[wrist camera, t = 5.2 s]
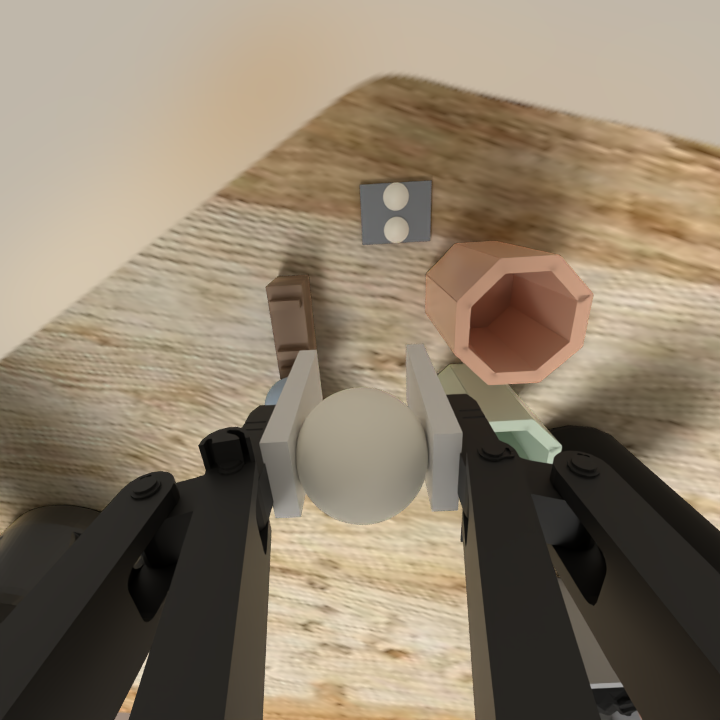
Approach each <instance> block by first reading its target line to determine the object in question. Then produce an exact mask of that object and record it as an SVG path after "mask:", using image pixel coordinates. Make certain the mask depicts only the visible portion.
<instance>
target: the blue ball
mask: <svg viewBox="0 0 720 720" xmlns="http://www.w3.org/2000/svg"><path fill="white" fill-rule="evenodd" d="M287 378H288V377H287ZM287 378H284V379H281V380H280V381H278V382H277V383H275V384H274V385H273V386H272V387H271V389H270V390H269V392H268V394H267V397H266V400H265V405H276V404H277V401H278V399H279V397H280V394H281V392H282V390H283V387H284V385H285V383H286V381H287Z"/></svg>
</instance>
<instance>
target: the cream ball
mask: <svg viewBox="0 0 720 720" xmlns="http://www.w3.org/2000/svg"><path fill="white" fill-rule="evenodd" d="M296 465H297V472H298V476H299V480H300V482H301V484H302V487H303V489H304V491H305V492H306V494H307V495H308V497H309V498H310V499H311V500H312V502H313V503H314V504H315V505H316V506H317V507H318V508H319V509H320V510H322V511H323V512H324V513H326V514H327V515H329V516H330V517H332V518H334V519H336V520H339V521H342V522H345V523H350V524H357V525H367V524H375V523H379V522H382V521H385V520H388V519H390V518H392V517H394V516H395V515H397V514H398V513H400V512H401V511H403V510H404V509H405V508H406V507H407V506H408V505H409V504H410V503H411V502H412V501H413V499H414V498H415V497H416V495H417V494H418V492H419V491H420V489H421V487H422V484H423V482H424V480H425V476H426V472H427V468H428V445H427V440H426V436H425V433H424V431H423V428H422V426H421V423H420V422H419V420H418V418H417V417H416V415H415V414H414V413H413V411H412V410H411V409H410V408H409V407H408V406H407V405H406V404H405V403H404V402H402V401H401V400H400V399H398V398H397V397H395V396H394V395H392V394H390V393H387V392H385V391H382V390H379V389H374V388H368V387H356V388H349V389H345V390H342V391H339V392H336V393H334V394H332V395H330V396H328V397H327V398H325V399H324V400H323V401H321V402H320V403H319V404H318V405H317V406H316V407H315V408H314V409H313V410H312V411H311V412H310V414H309V415H308V417H307V418H306V420H305V421H304V423H303V425H302V428H301V430H300V433H299V435H298V440H297V446H296Z"/></svg>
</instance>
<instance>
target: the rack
mask: <svg viewBox="0 0 720 720" xmlns="http://www.w3.org/2000/svg"><path fill="white" fill-rule="evenodd" d="M266 292H267V298H268V304H269V310H270V317H271V323H272V329H273V335H274V342H275V348H276V354H277V360H278V367H279V373H280V379H284V378H287V377H288V376H289V374H290V371H291V369H292V367H293V364H294V362H295V360H296V358H297V355H298V353H299V351H302V350H317V346H316V337H315V328H314V319H313V310H312V301H311V292H310V283H309V275H296V276H279V277H277V278H275V279H274V280H273V281H272V282H271V283H270V284H269V285H267V286H266ZM317 356H318V355H317Z"/></svg>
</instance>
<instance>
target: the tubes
mask: <svg viewBox="0 0 720 720" xmlns="http://www.w3.org/2000/svg"><path fill="white" fill-rule="evenodd" d="M431 182H432V180H431V181H414V182H398V183H382V184H365V185H360V202H361V222H362V242H363V245H370V244H387V243H404V242H420V241H430V228H431ZM593 295H594V294H593V293H592V291H591V290H590V289H589V288H588V287H587V286H586V284H585V283H584V282H583V281H582V280H581V279H580V277H579V276H578V275H577V274H576V273H575V272H574V270H573V269H572V268H571V267H570V266H569V265H568V263H567V262H566V261H565V260H564V259H563V258H562V256H561V255H558V254H553V253H549V252H544V251H540V250H535V249H531V248H526V247H522V246H517V245H513V244H508V243H504V242H499V241H483V242H466V243H456V244H454V245H453V246H452V247H451V248H450V249H449V250H448V251H447V252H446V253H445V254H444V255H443V256H442V258H441V259H440V260H439V261H438V262H437V263H436V264H435V265H434V266H433V267H432V268H431V269H430V270H429V271H428V272H427V273H426V296H425V312H426V314H427V315H428V317H429V318H430V320H431V321H432V323H433V324H434V326H435V327H436V328H437V330H438V331H439V333H440V334H441V336H442V337H443V339H444V340H445V341H446V343H447V344H448V346H449V347H450V349H451V350H452V352H453V353H454V354H455V355H456V356H457V357H458V358H459V359H460V360H461V361H462V362H463V363H464V364H450V365H448V366H447V367H446V368H445V369H444V370H443V371H442V372H441V373H439V374H438V375H437V376H438V378H439V380H440V383H441V385H442V387H443V389H444V392H445V394H446V395H449V394H467V395H469V396H470V397H472V398H473V399H475V400H476V401H477V403H478V405H479V406H480V408H481V411H483V413H484V415H485V418H487V420H488V422H489V423H490V425H491V427H492V429H493V430H494V432H495V434H496V435H497V437H498V439H499V440H500V441H502V442H505V443H507V444H509V445H510V446H512V447H513V448H514V449H515V450H516V451H517V453H518V455H519V457H521V458H524V459H527V460H532V461H537V462H543V463H549V464H553V459H554V456H555V455H557V454H558V453H559V452H561V449H562V445H561V444H560V443H559V442H558V441H557V439H556V438H555V437H554V436H553V435H552V434H551V433H550V431H549V430H548V429H547V428H546V427H545V426H544V425H543V424H542V422H541V421H540V420H539V419H538V418H537V417H536V416H535V414H534V413H533V412H532V411H531V410H530V409H529V408H528V406H527V405H526V404H525V403H524V402H523V401H522V400H521V399H520V397H519V396H518V395H517V394H516V393H515V392H514V391H513V389H512V388H511V387H510V386H509V385H508V384H521V383H539V382H541V381H542V380H543V379H544V378H546V377H547V376H548V375H549V374H550V373H552V372H553V371H554V370H555V369H556V368H558V367H559V366H560V365H561V364H562V363H564V362H565V361H566V360H567V359H568V358H570V357H571V356H572V355H573V354H575V353H576V352H577V351H578V350H579V349H581V348H582V346H583V343H584V338H585V333H586V328H587V324H588V319H589V314H590V309H591V304H592V299H593Z"/></svg>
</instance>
